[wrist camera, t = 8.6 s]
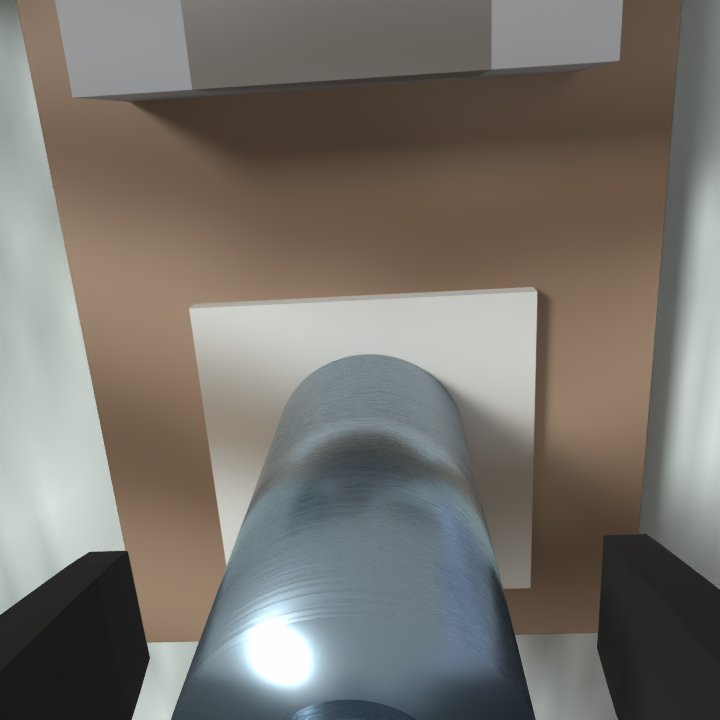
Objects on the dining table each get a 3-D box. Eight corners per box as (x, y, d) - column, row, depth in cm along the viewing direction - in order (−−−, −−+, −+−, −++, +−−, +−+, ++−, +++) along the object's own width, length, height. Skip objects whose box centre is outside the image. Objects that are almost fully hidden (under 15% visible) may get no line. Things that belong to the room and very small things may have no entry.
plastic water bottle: (502, 440, 15) (652, 853, 6) (374, 554, 16) (359, 1036, 7) (366, 315, 14) (336, 601, 6) (240, 443, 15) (56, 844, 7)
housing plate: (-55, -505, 11) (-240, -766, 8) (705, -595, 11) (851, -925, 7) (156, 615, 18) (105, 724, 15) (617, 604, 18) (670, 716, 14)
